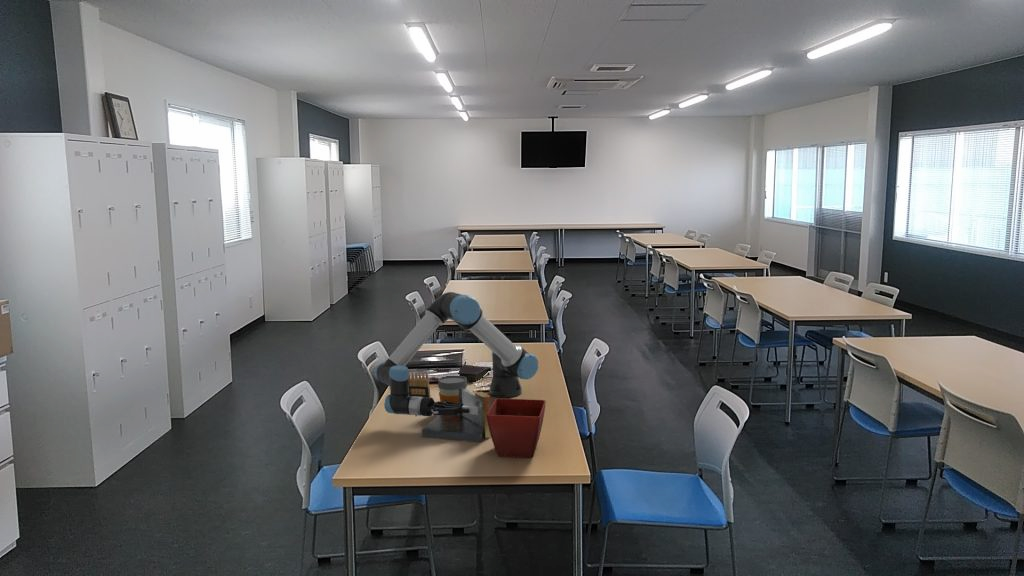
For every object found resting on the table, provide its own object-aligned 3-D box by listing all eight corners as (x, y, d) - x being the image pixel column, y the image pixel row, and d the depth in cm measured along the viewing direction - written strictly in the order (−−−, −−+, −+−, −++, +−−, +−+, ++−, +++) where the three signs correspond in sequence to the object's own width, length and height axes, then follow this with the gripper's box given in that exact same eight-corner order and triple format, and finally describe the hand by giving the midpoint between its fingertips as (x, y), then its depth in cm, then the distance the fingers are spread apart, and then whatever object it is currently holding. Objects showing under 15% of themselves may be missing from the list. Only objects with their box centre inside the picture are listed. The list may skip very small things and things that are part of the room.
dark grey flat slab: (440, 420, 290) (440, 413, 289) (495, 424, 283) (495, 417, 283) (422, 437, 271) (421, 429, 270) (480, 441, 264) (480, 434, 264)
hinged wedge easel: (458, 414, 287) (457, 388, 285) (464, 413, 288) (463, 387, 286) (482, 427, 270) (481, 400, 268) (488, 426, 271) (488, 399, 270)
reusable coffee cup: (474, 412, 299) (473, 378, 297) (452, 420, 290) (451, 385, 288) (454, 406, 307) (453, 373, 305) (433, 413, 298) (431, 380, 296)
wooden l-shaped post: (482, 431, 275) (481, 391, 273) (491, 437, 269) (490, 396, 266) (476, 433, 273) (474, 392, 271) (484, 438, 267) (483, 397, 265)
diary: (448, 371, 370) (448, 362, 369) (491, 375, 360) (491, 366, 360) (431, 380, 353) (431, 370, 352) (475, 384, 343) (475, 374, 343)
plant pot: (540, 462, 243) (539, 416, 241) (487, 460, 246) (485, 414, 244) (546, 442, 262) (546, 399, 259) (496, 440, 265) (495, 398, 263)
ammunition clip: (430, 396, 324) (429, 371, 322) (429, 397, 322) (427, 372, 320) (408, 395, 326) (407, 370, 324) (407, 396, 324) (406, 371, 322)
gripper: (429, 410, 285) (483, 414, 278) (416, 420, 273) (473, 425, 266) (428, 392, 284) (483, 396, 277) (415, 402, 271) (472, 406, 265)
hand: (478, 410), depth 272 cm, fingers closed
